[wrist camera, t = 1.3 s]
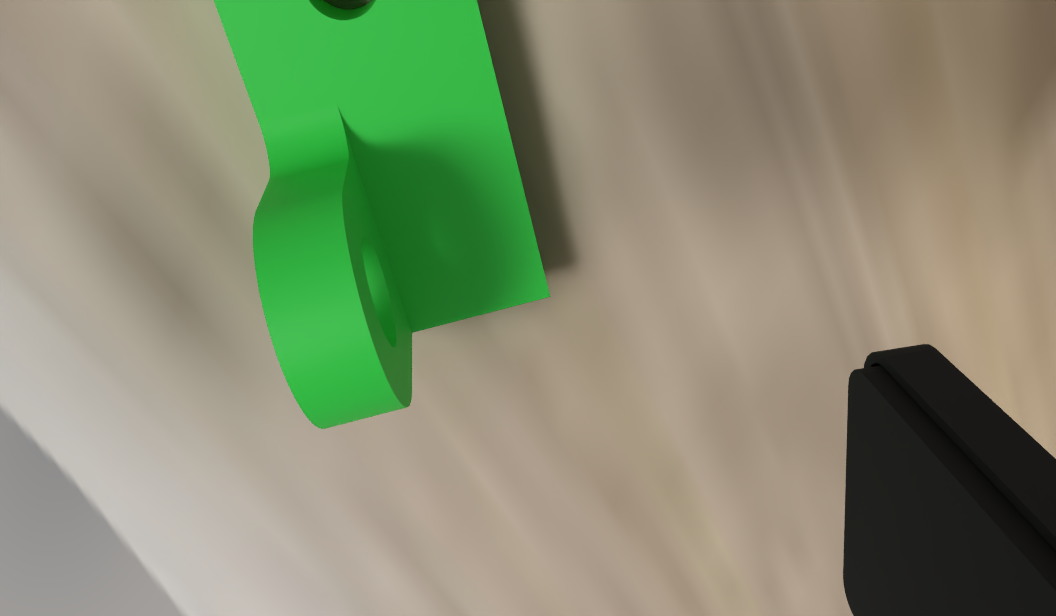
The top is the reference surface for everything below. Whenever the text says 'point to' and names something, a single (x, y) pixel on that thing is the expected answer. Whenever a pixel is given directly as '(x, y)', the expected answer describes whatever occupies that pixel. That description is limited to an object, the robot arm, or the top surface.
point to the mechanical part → (377, 190)
